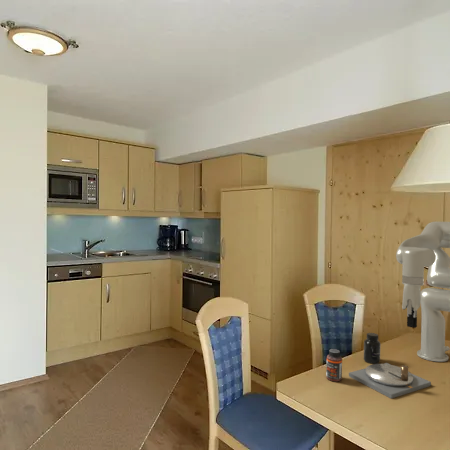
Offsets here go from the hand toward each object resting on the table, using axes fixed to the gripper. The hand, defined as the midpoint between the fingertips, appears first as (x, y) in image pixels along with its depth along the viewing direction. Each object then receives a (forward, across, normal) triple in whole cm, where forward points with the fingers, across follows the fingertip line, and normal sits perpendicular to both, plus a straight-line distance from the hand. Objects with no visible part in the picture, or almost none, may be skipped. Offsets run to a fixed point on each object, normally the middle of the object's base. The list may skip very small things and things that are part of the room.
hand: (411, 326), depth 145 cm
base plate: (+21, +7, -6) cm, 23 cm away
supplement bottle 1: (+21, +19, -24) cm, 37 cm away
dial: (+19, +7, -7) cm, 22 cm away
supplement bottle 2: (+21, -9, -18) cm, 29 cm away
